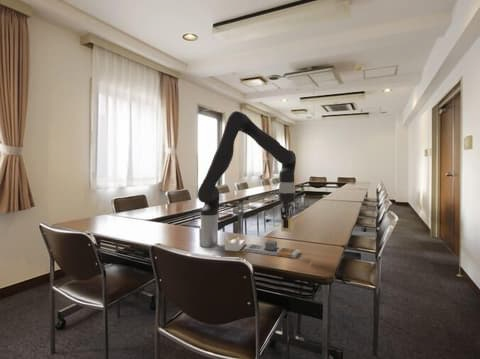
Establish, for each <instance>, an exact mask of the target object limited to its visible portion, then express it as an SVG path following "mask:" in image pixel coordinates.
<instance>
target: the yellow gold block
mask: <svg viewBox="0 0 480 359" xmlns="http://www.w3.org/2000/svg"><path fill="white" fill-rule="evenodd" d="M284 217H285V216H284ZM280 225H281V226H280V228H281V229H280V230H281V231H280V232H285V233H286V232H287V233H292V232H293V230H294V216H291V217H289V216H288V228H283V220H282V219H281V224H280Z"/></svg>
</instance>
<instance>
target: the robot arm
mask: <svg viewBox="0 0 480 359" xmlns="http://www.w3.org/2000/svg"><path fill="white" fill-rule="evenodd" d="M239 132H242V133H243V134H246V135H247V136H249V137H250V138H251V139H253V141H254V142H256V144H257V145H258V146H259V147H261V148H262V149H263V150H265V151H266V152H267V153H269V154H270V155H271V156H272V157H273V158H274V159H275V160H276V161H277V162H279V164H281V169H280V171H279V184H278V189H279V190H278V201H279V202H280V203H282V205H281V207H280V216H281V219H282V220H283V228H288V216H289V217H293V212H294V211H293V209H294V205H293V204H292V203H294V202H295V201H296V184H295V169H296V165H297V164H296V163H297V156H296V154H295V152H294V151H293V150H290V149H288V148H286V147H284V146H283V145H281V143H280V142H279V141H278V140H277V139H275V138H274V137H272V136H271V135H270V134H268V133H267V132H265V131H264V130H262V129H261V128H260V127H258V126H257V124H255V123H254V122H253V121H252V119H251V118H249V116H248V115H246V113H244V112H241V111H237V110H235V111H232V112H231V113H230V114H229V115H228V117H227V121H226V123H225V127H224V130H223V134H222V136H221V138H220V141H219V143H218V146H217V149H216V151H215V153H214V155H213V157H212V161H211V163H210V166H209V168H208V170H207V173H206V175H205V178H204V179H203V181H202V183H201V184H200V187H199V188H198V190H197V198H198V200H199V201H200V202H201V203H204V205H203V207H202V208H201V209H200V228H199V232H198V233H199V246H201V247H203V248H214V247H217V246H218V245H219V238H218V236H219V233H218V230H219V227H218V226H219V224H218V223H219V221H218V220H219V219H218V218H219V217H218V215H219V214H218V212H219V209H220V191H219V188H218V187H217V183H218V181H219V180H220V179H221V177H222V176H223V175H224V174H225V172H226V171H227V170H228V168H229V166H230V164H231V162H232V159H233V156H234V152H235V150H234V148H235V140H236V138H237V137H238V134H239ZM284 216H285V217H284Z"/></svg>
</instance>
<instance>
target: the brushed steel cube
mask: <svg viewBox="0 0 480 359" xmlns="http://www.w3.org/2000/svg"><path fill="white" fill-rule="evenodd" d="M264 245H265V250H267V251H275V252H276V251H277V247H278V241H277V240H276V241H275V240H266V242H265V244H264Z"/></svg>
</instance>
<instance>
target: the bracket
mask: <svg viewBox="0 0 480 359" xmlns="http://www.w3.org/2000/svg"><path fill="white" fill-rule="evenodd" d="M245 245H246V240H245V239H241V238H240V237H236V238H235V239H231V240H230V239H229V236H225V237H224V250H225V251H229V252H230V251H232V252H239V251H240V250H241V249H242V248H244V246H245Z"/></svg>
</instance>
